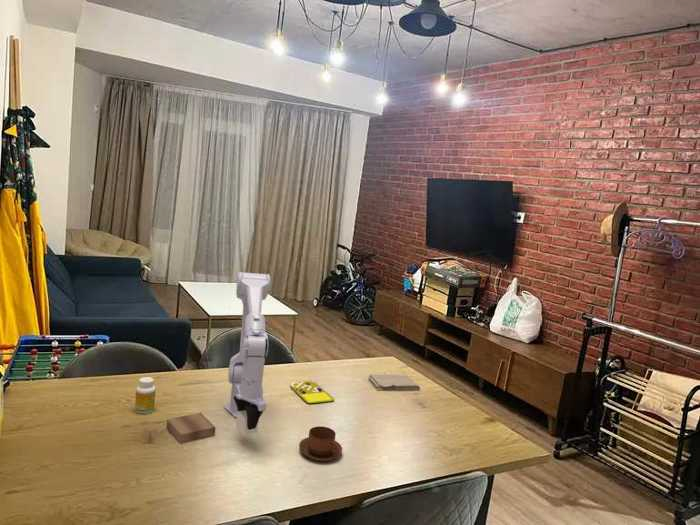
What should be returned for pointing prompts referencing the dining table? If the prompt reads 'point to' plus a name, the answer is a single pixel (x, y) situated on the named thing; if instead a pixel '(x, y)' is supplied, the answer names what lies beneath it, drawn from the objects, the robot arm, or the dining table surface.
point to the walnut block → (190, 427)
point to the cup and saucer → (320, 444)
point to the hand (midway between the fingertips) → (247, 424)
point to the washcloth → (393, 383)
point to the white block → (244, 423)
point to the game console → (311, 393)
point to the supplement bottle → (145, 396)
